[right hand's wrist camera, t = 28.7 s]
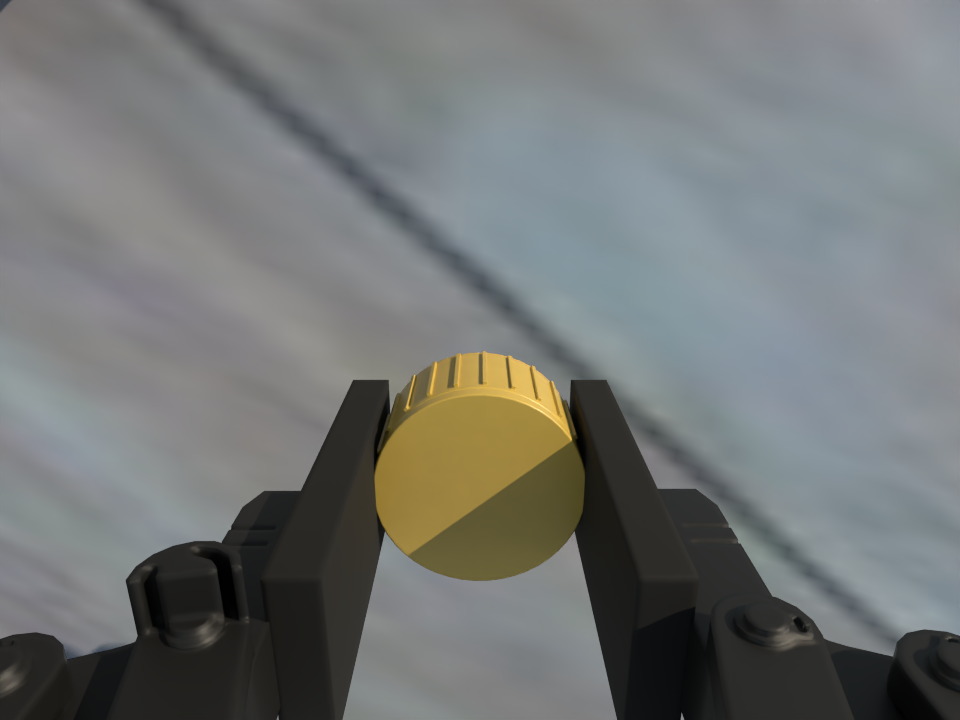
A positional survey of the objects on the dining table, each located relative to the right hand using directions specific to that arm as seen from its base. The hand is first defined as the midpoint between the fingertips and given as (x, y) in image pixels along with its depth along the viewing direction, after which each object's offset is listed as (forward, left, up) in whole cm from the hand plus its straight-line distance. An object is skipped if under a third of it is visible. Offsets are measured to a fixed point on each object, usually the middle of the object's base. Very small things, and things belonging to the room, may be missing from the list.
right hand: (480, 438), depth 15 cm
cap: (0, 0, +2) cm, 2 cm away
